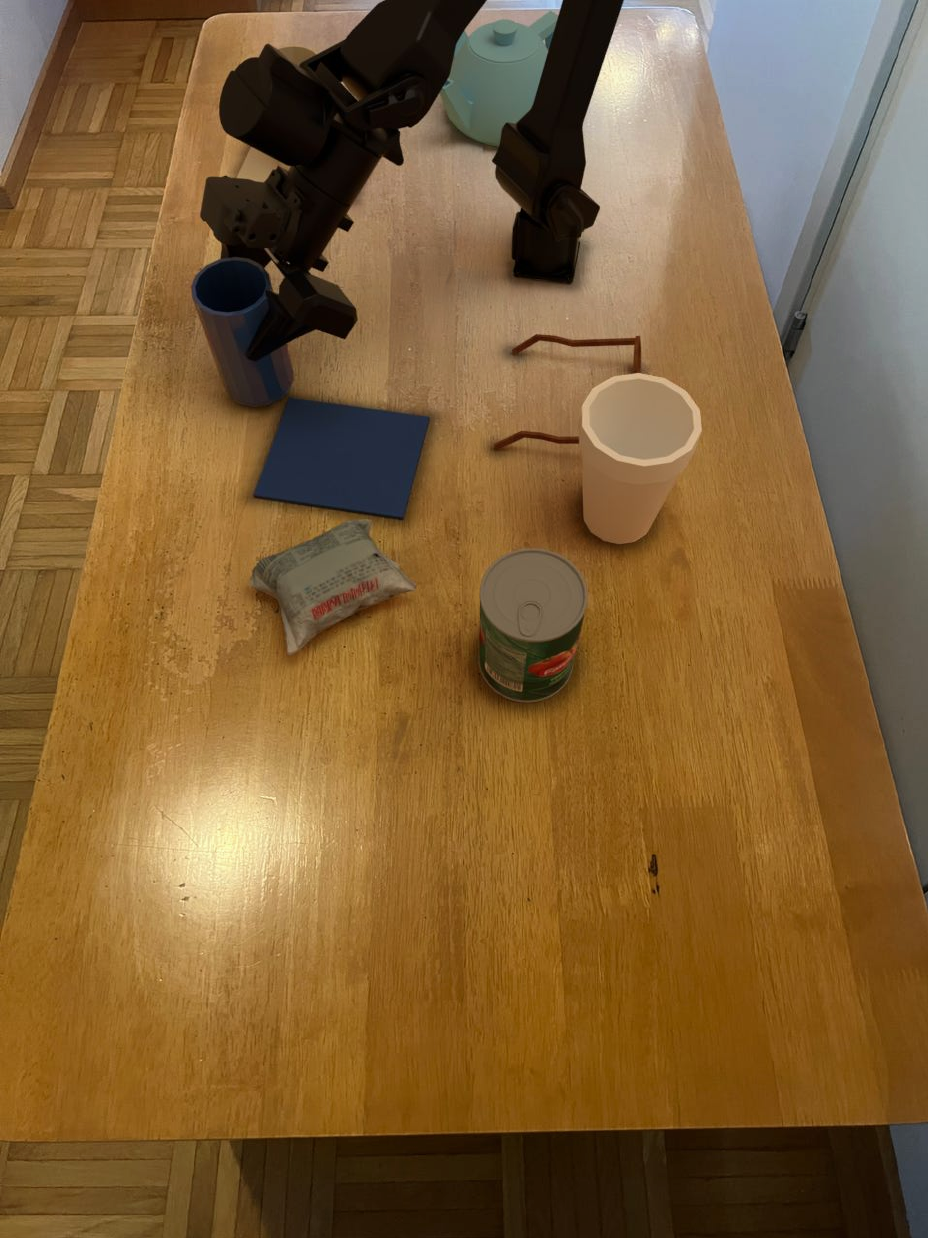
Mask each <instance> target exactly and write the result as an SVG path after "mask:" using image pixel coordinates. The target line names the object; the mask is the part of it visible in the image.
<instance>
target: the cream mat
mask: <svg viewBox="0 0 928 1238" xmlns="http://www.w3.org/2000/svg"><path fill="white" fill-rule="evenodd" d="M278 166H279V165H278V162H277V160H275V159H273V158H272V157H270V156H268V155H266V154H264V153H262V152H260V151H258V150H256V149H254V148H253V147H251V146H250V148H249V150H248V153H247V154H246V156H245V159H244V161H243V163H242V165H241V167H240V168H239V171H238V174H237V176H236V178H244V179H250V180H253V181H258V182H264V181H265V180H266V179H267V178H268V177H269V175H270V173H271V171H272V170H274V169H275V170H276V168H277V167H278Z"/></svg>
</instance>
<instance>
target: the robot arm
mask: <svg viewBox="0 0 928 1238" xmlns="http://www.w3.org/2000/svg"><path fill="white" fill-rule="evenodd" d="M487 1H488V0H381V1H380V2H378V3H377V4H376V5H375V6H374V7H373V8H371V10H370V11H369V12H367V14H366V15H365V17H363V18H362V19H361V21H360V22H359V23H358V24H357V25H355V27H354V28H352V30H351V31H350V32H349V33H348V35H346V37H345V39H343V40H341V41H339V42H337V43H335V44H334V45H332V46H329V47H328V48H326V49H324V50H322V51H320V52H318V54H316V55H314V56H313V57H311V58H309V59H307V60H305V61H303V62H301V63H300V65H299V66H297V65H296V64H294V63H293V62H291V61H290V60H288V59H287V58H286V57H285V56H284V55H283V53H282V52H281V51H279V50H278V49H276V47H275V46H274V45H272V44H270V43H266V44H264V45H263V48H262V49H261V51H260V53H259V55H258V56H252V57H248V58H246V59H245V60H243V61H242V62H240V63H239V64H238V65H237V67H236V68H235V69H234V70H231V71H230V72H229V73H228V75H227V77H226V79H225V81H224V83H223V86H222V89H221V93H220V97H219V103H218V116H219V121H220V125H221V127H222V129H223V132H224V133H226V135H228V136H230V137H232V138H233V139H235V140H237V141H239V142H241V143H242V144H245V145H247V146H249V147H250V148H251V147H253V148H254V149H256V150H258V151H260V152H262V153H264V154H266V155H268V156H270V157H272V158H273V159H275V160H277V161H279V162H281V163H283V164H285V165H287V166H291V167H290V169H289V170H288V171H287V170H286V169H284V168H282V167H280V166H278V167H277V168H276V170H275V169H274V170H272V171H271V173H270V175H269V177H268V178H267V179H266V180H265V181H264V182H258V181H253V180H250V179H244V178H237V177H230V176H228V175H222V176H208V177H206V178H205V183H204V189H203V194H202V201H201V207H200V214H199V217H200V219H201V220H202V221H203V222H205V223H206V224H207V225H208V227H209V228H210V230H211V231H212V234H213V237H214V238H215V239H216V240H217V241H218V242H220V244H221V250H220V257H219V259H224V258H230V257H240V258H248V259H251V260H253V261H255V262H257V263H259V264H261V265H262V266H263V267H264V268H265V269H266V267H267V266H268V265H269V264H270V263H271V262H272V263H273V264H274V265H275V267H276V268H277V269H278V270H279V272H280V273H281V274H282V276H283V279H282V280H281V282H280V283H279V286H278V292H275V291H274V290H273V291H274V292H273V291H270V290H267V289H266V291H265V292H266V297H267V302H268V307H269V308H268V311H267V313H266V315H265V317H264V319H263V321H262V323H261V324H260V326H259V328H258V330H257V332H256V334H255V336H254V338H253V340H252V342H251V344H250V346H249V348H248V351H247V353H246V358H247V359H248V360H251V361H258V360H260V359H261V358H263V357H265V356H267V355H268V354H270V353H272V352H273V351H275V350H277V349H279V348H280V347H282V346H284V345H286V344H287V345H288V344H289V343H291V342H293V341H295V340H296V339H298V338H300V337H302V336H305V335H307V334H309V333H312V332H314V331H316V330H317V331H320V332H322V333H325V334H328V335H331V336H333V337H336V338H339V339H342V340H346V339H347V338H348V336H349V335H350V333H351V331H352V330H353V328H354V327H355V325H356V324H357V322H358V320H359V318H358V311H357V307H356V306H355V305H354V304H353V303H352V301H351V300H350V298H348V296H347V295H346V293H345V292H344V291H343V290H342V289H341V288H340V287H339V285H338V284H336V283H334V282H331V281H329V280H327V279H324V278H321V277H319V276H316V275H314V274H312V273H311V270H312V269H314V270H316V271H318V272H321V273H324V271H325V269H326V268H327V267H328V265H329V263H330V262H329V261H328V259H327V258H326V257H325V256H324V255H323V253H324V251H325V250H326V248H327V247H328V246H329V244H330V242H331V240H332V239H333V237H334V235H335V234H336V232H337V231H338V229H340V230H342V231H344V232H346V233H349V231H350V230H351V228H352V227H353V225H354V224H355V221H354V220H353V219H352V218H351V217H350V215H348V213H349V211H350V209H351V208H352V206H353V205H354V203H355V201H356V200H357V198H358V196H360V193H361V192H362V190H363V189H364V187H365V185H366V183H367V182H368V180H369V179H370V177H371V176H372V174H373V172H374V170H376V167H377V166H378V164H379V163H380V161H381V159H382V158H384V159H386V160H387V161H388V162H390V163H392V164H393V165H395V166H397V167H401V166H403V164H404V163H405V158H404V153H403V149H402V145H401V129H404V128H409V129H411V128H413V127H415V126H416V125H418V124H419V123H420V122H421V121H422V120H423V119H424V118H425V117H426V116H427V114H428V113H429V111H430V110H431V109H432V107H433V105H434V103H435V101H436V100H437V98H438V97H439V96H440V91H441V90H442V88H443V86H444V85H445V83H446V81H447V79H448V78H449V75H450V72H451V67H452V63H453V58H454V53H455V48H456V44H457V42H458V41H459V39H460V37H461V35H462V34H463V32H464V30H465V31H466V29H467V28H468V26H469V25H470V23H471V22H472V21H473V19H475V17H476V16H477V14H478V13H479V11H480V10H481V9H482V8H483V7H484V5H485V4H486V3H487ZM561 1H562V2H561V5H560V8H559V12H558V14H557V15H558V19H557V22H556V26H555V29H554V33H553V36H552V40H551V43H550V47H549V50H548V54H547V57H546V61H545V64H544V68H543V71H542V75H541V78H540V82H539V85H538V88H537V92H536V95H535V99H534V102H533V105H532V108H531V109H530V110H529V111H528V112H527V113H526V114H525V115H524V116H523V117H522V118H521V119H520V120H519V121H518V122H517V123H516V124H514V123H509V122H507V123H505V124H504V126H503V128H502V131H501V138H500V144H499V147H498V146H497V147H498V148H497V150H496V152H495V154H494V155H493V158H492V160H491V162H492V163H493V164H494V165H495V171H494V175H495V176H494V177H495V179H496V181H497V183H498V184H499V187H500V188H501V189H502V190H503V191H504V192H505V193H506V194H507V195H508V196H509V197H510V198H511V199H512V200H513V201H514V202H515V203H516V204H517V205H518V206H519V207H520V210H519V211H517V212H516V213H515V215H514V216H515V217H514V220H513V224H512V232H511V253H510V258H511V260H512V261H514V264H513V270H512V275H513V277H515V278H521V279H528V280H536V281H545V282H553V283H560V284H567V285H569V284H572V283H573V282H574V280H575V274H576V269H577V264H578V259H579V255H580V247H581V241H580V238H581V237H582V235H583V233H584V232H585V230H588V229H590V228H592V227H593V226H594V224H595V222H596V219H597V217H598V215H599V213H600V210H601V206H600V205H599V204H598V203H597V202H596V201H595V200H594V199H593V198H592V197H591V196H590V195H589V194H588V193H586V192H585V191H584V190H583V189H582V186H583V185H582V184H583V180H584V175H585V171H586V165H587V157H586V149H585V139H584V138H585V137H584V122H585V120H586V116H587V112H588V110H589V108H590V103H591V101H592V98H593V95H594V92H595V88H596V86H597V83H598V80H599V77H600V74H601V70H602V68H603V65H604V61H605V59H606V55H607V52H608V50H609V46H610V44H611V41H612V37H613V35H614V32H615V28H616V26H617V22H618V20H619V16H620V13H621V10H622V8H623V4H624V2H625V0H561Z"/></svg>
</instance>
